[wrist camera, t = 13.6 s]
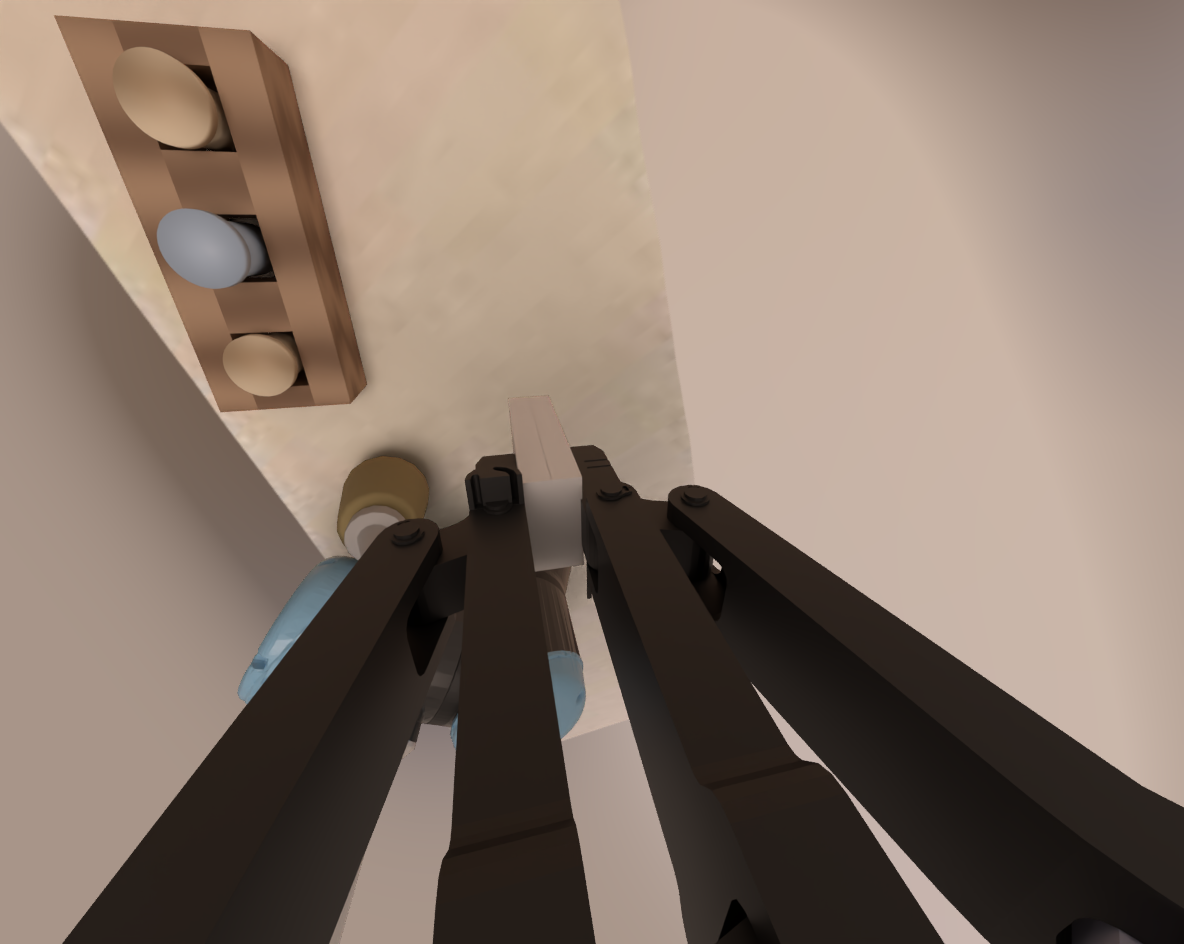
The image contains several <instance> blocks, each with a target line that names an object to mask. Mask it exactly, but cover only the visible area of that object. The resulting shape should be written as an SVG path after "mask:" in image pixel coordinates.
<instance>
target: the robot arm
mask: <svg viewBox="0 0 1184 944" xmlns="http://www.w3.org/2000/svg"><path fill="white" fill-rule="evenodd" d="M508 402H509V412H510V422H511V432H512V442H513V453H514V454H505V455H495V456H484V457H482V458H481V459H480V460H479V462H478V463H477V464H476V469H475V470H473V471H472V472H471V473H469V474H468V475H467V476H466V478H465V485H466V491H467V498H468V504H469V510H470V511H469V516H468V517H467V518H466V519H464V520H463V521H461V522H459V523H457V524H455V525H452V526H450V527H446V528H443V529H440V530H439V528H438V526H437V524H436V523H434V522H433V521H431V520H428V519H421V518H417V519H406V520H404V521H399V522H396V523H394V524H392V525H390V526H389V527H387V528H385V529H384V530H383V531H382V532H381V533H380V534H378V536H377V537H376V538H375V539H374V541H373V542H372V543H371V545H370V546H369V547H368V549H367V550H366V551H365V552H364V554H363V555H362V556H361V558H360V559H359V560H357V559H355V558H351V557H347V556H333V557H330V558H327V559H325V560H323V561H322V562H320V563H319V564H317V565H316V566H315V567H314V568H313V569H312V570H311V571H310V573H309V574H308V575H307V576H306V577H305V579H304V580H303V581H302V582H301V584H300V585H299V587H298V588H297V589H296V591H295V592H294V593H293V595H292V596H291V598H290V599H289V601H288V602H287V604H286V605H285V607H284V608H283V610H282V611H281V613H280V614H279V616H278V617H277V619H276V620H275V622H274V623H273V625H272V627H271V628H270V630H269V632H268V633H267V635H266V636H265V638H264V640H263V642H262V643H261V645H260V647H259V649H258V653H257V655H255V657H254V659H253V661H252V663H251V665H250V666H249V667H248V669H247V670H246V672H245V674H244V676H243V678H242V680H241V683H240V685H239V688H238V696H239V698H240V699H241V700H243V701H245V703H246V704H247V705H246V707H245V708H244V709H243V710H242V712H241V713H240V714H239V716H238V717H237V718H236V719H235V721H234V722H233V723H232V725H231V726H230V727H229V728H228V730H227V731H226V732H225V734H224V735H223V737H222V738H221V739H220V740H219V741H218V743H217V744H216V745H215V747H214V748H213V749H212V750H211V752H210V753H209V754H208V756H207V757H206V758H205V760H204V761H203V762H202V763H201V765H200V766H199V767H198V769H197V770H196V771H195V773H194V774H193V775H192V776H191V778H190V779H189V780H188V782H187V783H186V784H185V785H184V787H183V788H182V789H181V791H180V792H179V793H178V795H177V796H176V797H175V798H174V800H173V801H172V802H171V804H170V805H169V806H168V807H167V809H166V810H165V811H164V813H163V814H162V815H161V817H160V818H159V819H158V820H157V822H156V823H155V824H154V826H153V827H152V828H151V830H150V831H149V832H148V833H147V835H146V836H145V837H144V838H143V840H142V841H141V842H140V844H139V845H138V846H137V848H136V849H135V850H134V851H133V853H132V854H131V855H130V857H129V858H128V860H127V861H126V862H125V863H124V864H123V866H122V867H121V868H120V870H119V871H118V872H117V873H116V875H115V876H114V877H113V879H112V880H111V881H110V882H109V884H108V885H107V886H106V888H105V889H104V890H103V892H102V893H101V894H100V895H99V897H98V898H97V899H96V901H95V902H94V903H93V904H92V906H91V907H90V908H89V910H88V911H87V912H86V914H85V915H84V916H83V917H82V919H81V920H80V921H79V923H78V924H77V925H76V926H75V928H74V929H73V930H72V932H71V933H70V934H69V936H68V937H67V938H66V939H65V941H64V942H63V944H340V940H341V937H342V933H343V929H344V925H345V922H346V919H347V915H348V911H349V908H350V904H351V900H352V897H353V893H354V890H355V886H356V883H357V879H358V875H359V872H360V868H361V865H362V861H363V857H364V854H365V851H366V849H367V846H368V843H369V840H370V838H371V836H372V833H373V831H374V828H375V826H376V823H377V820H378V818H379V815H380V812H381V810H382V808H383V805H384V803H385V800H386V798H387V795H388V792H389V790H390V787H391V785H392V782H393V780H394V777H395V774H396V772H397V769H398V767H399V764H400V762H401V760H402V759H403V758H404V757H405V756H407V755H408V754H409V753H410V752H411V751H412V750H414V749H415V746H416V742H417V737H418V734H419V730H420V726H421V724H422V723H424V724H432V725H440V726H446V727H451V733H450V734H451V739H452V742H453V744H454V747H455V749H456V760H455V776H454V794H453V813H452V829H451V840H450V845H449V850H448V852H447V853H446V855H445V856H444V858H443V860H442V864H441V869H440V873H439V879H438V888H437V897H436V908H435V921H434V935H433V944H596V943H595V936H594V930H593V924H592V918H591V912H590V905H589V899H588V892H587V886H586V880H585V873H584V867H583V861H582V855H581V849H580V843H579V838H578V833H577V828H576V824H575V821H574V818H573V814H572V808H571V802H570V796H569V789H568V783H567V776H566V770H565V763H564V757H563V750H562V744H561V739H562V738H563V737H564V736H565V735H566V734H567V733H568V732H569V731H570V730H571V729H572V728H573V727H574V725H575V724H576V722H577V721H578V719H579V718H580V716H581V714H582V711H583V708H584V705H585V699H586V691H585V684H584V677H583V662H582V660H581V658H580V654H579V650H578V646H577V642H576V638H575V634H574V630H573V626H572V622H571V618H570V613H569V609H568V605H567V601H566V597H565V594H566V589H567V584H568V580H569V575H570V570H571V566H577V565H584V558H583V551H584V554H585V557H586V560H587V599H590V598H591V595H593V599H594V602H595V606H596V609H597V612H598V616H599V619H600V622H601V626H602V629H603V632H604V636H605V639H606V643H607V646H608V649H609V653H610V656H611V659H612V663H613V666H614V669H615V673H616V676H617V680H618V683H619V686H620V690H621V693H622V696H623V700H624V703H625V706H626V710H627V713H628V717H629V720H630V723H631V726H632V730H633V733H634V737H635V740H636V743H637V746H638V750H639V753H640V757H641V760H642V764H643V767H644V770H645V774H646V777H647V780H648V784H649V787H650V790H651V793H652V797H653V800H654V804H655V807H656V811H657V814H658V817H659V821H660V824H661V827H662V831H663V834H664V838H665V841H666V844H667V848H668V851H669V854H670V858H671V861H672V864H673V868H674V871H675V875H676V879H677V884H678V889H679V895H680V902H681V910H682V918H683V923H684V928H685V932H686V938H687V941H688V944H944V943H943V941H942V939H941V938H940V936H939V935H938V933H937V932H936V930H935V929H934V927H933V925H932V924H931V922H930V921H929V919H928V918H927V916H926V915H925V913H924V911H923V910H922V908H921V907H920V905H919V904H918V902H917V901H916V899H915V898H914V896H913V895H912V893H911V892H910V890H909V888H908V887H907V886H906V884H905V882H904V881H903V879H902V878H901V876H900V875H899V873H898V872H897V870H896V869H895V867H894V865H893V864H892V862H891V861H890V859H889V858H888V856H887V855H886V853H885V852H884V850H883V849H882V847H881V846H880V844H879V842H878V841H877V839H876V838H875V836H874V835H873V833H872V832H871V830H870V829H869V827H868V826H867V824H866V822H865V821H864V819H863V818H862V817H861V815H860V813H859V812H858V811H857V809H856V807H855V806H854V804H853V803H852V801H851V799H850V798H849V796H848V795H847V793H846V792H845V791H844V789H843V788H842V787H841V785H840V784H839V783H838V782H837V780H836V779H835V778H834V776H833V775H832V774H831V773H830V772H829V771H827V770H826V769H825V768H824V767H822V766H821V765H820V764H819V763H815V762H809V761H804V760H801V759H800V758H799V757H798V756H796V755H795V754H794V752H793V751H792V749H791V748H790V747H789V745H788V744H787V742H786V741H785V739H784V737H783V735H782V734H781V732H780V730H779V729H778V727H777V726H776V724H775V722H774V720H773V719H772V717H771V715H770V714H769V712H768V710H767V709H766V707H765V706H764V704H763V702H762V700H761V699H760V697H759V695H758V694H757V692H756V690H755V689H754V687H753V685H754V686H755V687H756V688H757V689H758V691H759V692H760V693H761V694H762V695H763V696H764V697H765V698H766V699H767V700H768V702H769V703H770V704H771V705H772V706H773V707H774V708H775V709H776V710H777V712H778V713H779V714H780V715H781V716H782V717H783V718H784V719H785V720H786V721H787V723H788V724H789V725H790V726H791V727H792V728H793V729H794V730H795V731H796V733H797V734H798V735H799V736H800V737H801V738H802V739H803V740H804V741H805V743H806V744H807V745H808V746H809V747H810V748H811V749H812V750H813V751H814V752H815V754H816V755H817V756H818V757H819V758H820V759H821V760H822V761H823V762H824V764H825V765H826V766H827V767H828V768H829V769H830V770H831V771H832V772H833V774H834V775H835V776H836V777H837V778H838V779H839V780H840V781H841V782H842V783H843V785H844V786H845V787H846V788H847V789H848V790H849V791H850V792H851V794H852V795H853V796H854V797H855V798H856V799H857V800H858V801H859V802H860V804H861V805H862V806H863V807H864V808H865V809H866V810H867V811H868V812H869V813H870V815H871V816H872V817H873V818H874V819H875V820H876V821H877V822H878V823H879V824H880V826H881V827H882V828H883V829H884V830H885V831H886V832H887V833H888V835H889V836H890V837H891V838H892V839H893V840H894V841H895V842H896V843H897V844H898V846H899V847H900V848H901V849H902V850H903V851H904V852H905V853H906V854H907V856H908V857H909V858H910V859H911V860H912V861H913V862H914V863H915V864H916V866H917V867H918V868H919V869H920V870H921V871H922V872H923V873H924V874H925V875H926V877H927V878H928V879H929V880H930V881H931V882H932V883H933V884H934V885H935V887H936V888H937V889H938V890H939V891H940V892H941V893H942V894H943V895H944V896H945V897H946V898H947V899H948V901H949V902H950V903H951V904H952V905H953V906H954V907H955V908H956V909H957V910H958V911H959V912H960V913H961V914H962V915H963V916H964V917H965V918H966V919H967V920H968V921H969V922H970V924H971V925H972V926H973V927H974V928H975V929H976V930H977V931H978V932H979V933H980V934H981V935H982V936H983V937H984V938H985V939H986V940H987V941H988V942H989V943H990V944H1184V807H1182V806H1180V805H1178V804H1176V803H1174V802H1172V801H1170V800H1168V799H1166V798H1164V797H1162V796H1160V795H1158V794H1157V793H1155V792H1152V791H1151V790H1148V789H1147V788H1145V787H1143V786H1141V785H1140V784H1138V783H1137V782H1135V781H1134V780H1132V779H1131V778H1130V777H1128V776H1127V775H1125V774H1124V773H1122V772H1121V771H1119V770H1118V769H1116V768H1115V767H1114V766H1112V765H1110V764H1109V763H1108V762H1106V761H1105V760H1103V759H1102V758H1101V757H1099V756H1098V755H1096V754H1095V753H1093V752H1092V751H1090V750H1089V749H1087V748H1086V747H1085V746H1083V745H1082V744H1080V743H1079V742H1077V741H1076V740H1074V739H1073V738H1072V737H1070V736H1069V735H1067V734H1066V733H1064V732H1063V731H1061V730H1060V729H1058V728H1057V727H1056V726H1054V725H1053V724H1051V723H1050V722H1048V721H1047V720H1045V719H1044V718H1042V717H1041V716H1040V715H1038V714H1037V713H1035V712H1034V711H1032V710H1031V709H1029V708H1028V707H1027V706H1025V705H1024V704H1022V703H1021V702H1019V701H1018V700H1016V699H1015V698H1014V697H1012V696H1011V695H1009V694H1008V693H1006V692H1005V691H1003V690H1002V689H1000V688H999V687H998V686H996V685H995V684H993V683H992V682H990V681H989V680H987V679H986V678H985V677H983V676H982V675H980V674H978V673H977V672H976V671H974V670H973V669H971V668H970V667H969V666H967V665H966V664H964V663H963V662H961V661H960V660H958V659H957V658H955V657H954V656H953V655H951V654H950V653H948V652H947V651H945V650H944V649H942V648H941V647H940V646H938V645H937V644H935V643H934V642H932V641H931V640H929V639H928V638H927V637H925V636H924V635H922V634H921V633H919V632H918V631H916V630H915V629H913V628H912V627H911V626H909V625H908V624H906V623H905V622H903V621H902V620H900V619H899V618H898V617H896V616H895V615H893V614H892V613H890V612H889V611H887V610H886V609H884V608H883V607H881V606H880V605H879V604H877V603H876V602H874V601H873V600H871V599H870V598H868V597H867V596H866V595H864V594H863V593H861V592H859V591H858V590H857V589H855V588H854V587H852V586H851V585H850V584H848V583H847V582H845V581H844V580H842V579H841V578H839V577H838V576H836V575H835V574H833V573H832V572H831V571H829V570H828V569H826V568H825V567H823V566H822V565H821V564H819V563H818V562H816V561H815V560H813V559H812V558H810V557H809V556H808V555H806V554H805V553H803V552H802V551H800V550H799V549H797V548H796V547H795V546H793V545H792V544H790V543H789V542H787V541H786V540H784V539H783V538H781V537H780V536H779V535H777V534H776V533H774V532H773V531H771V530H770V529H768V528H767V527H766V526H764V525H763V524H761V523H759V522H758V521H757V520H755V519H754V518H752V517H751V516H750V515H748V514H747V513H745V512H744V511H742V510H741V509H739V508H738V507H736V506H735V505H734V504H732V503H731V502H729V501H728V500H726V499H725V498H723V497H722V496H720V495H719V494H718V493H716V492H714V491H712V490H710V489H708V488H704V487H701V486H698V485H694V486H693V485H686V486H679V487H677V488H675V489H672V490H671V492H670V493H669V494H668V502H667V501H652V500H645V499H641V498H640V496H639V495H638V493H637V491H636V490H635V489H634V488H633V487H632V486H630V485H628V484H626V483H623V482H620V480H619V478H618V477H617V475H616V473H615V471H614V469H613V468H612V466H611V464H610V462H609V461H608V460H607V457H606V455H605V453H604V452H603V451H602V450H601V449H599V448H597V447H596V446H594V445H588V446H578V447H570V446H569V444H568V441H567V439H566V437H565V434H564V432H563V429H562V427H561V424H560V422H559V419H558V417H557V415H556V412H555V410H554V407H553V405H552V402H551V400H550V397H549V395H546V396H532V397H518V398H508ZM713 558H714V559H715V560H716V561H717V562H718V563H719V564H720V565H721V567H722V569H721V571H720V570H718V569H717V568H716V567H715V566H714V565H712V564H713ZM751 683H752V684H753V685H752V684H751Z"/></svg>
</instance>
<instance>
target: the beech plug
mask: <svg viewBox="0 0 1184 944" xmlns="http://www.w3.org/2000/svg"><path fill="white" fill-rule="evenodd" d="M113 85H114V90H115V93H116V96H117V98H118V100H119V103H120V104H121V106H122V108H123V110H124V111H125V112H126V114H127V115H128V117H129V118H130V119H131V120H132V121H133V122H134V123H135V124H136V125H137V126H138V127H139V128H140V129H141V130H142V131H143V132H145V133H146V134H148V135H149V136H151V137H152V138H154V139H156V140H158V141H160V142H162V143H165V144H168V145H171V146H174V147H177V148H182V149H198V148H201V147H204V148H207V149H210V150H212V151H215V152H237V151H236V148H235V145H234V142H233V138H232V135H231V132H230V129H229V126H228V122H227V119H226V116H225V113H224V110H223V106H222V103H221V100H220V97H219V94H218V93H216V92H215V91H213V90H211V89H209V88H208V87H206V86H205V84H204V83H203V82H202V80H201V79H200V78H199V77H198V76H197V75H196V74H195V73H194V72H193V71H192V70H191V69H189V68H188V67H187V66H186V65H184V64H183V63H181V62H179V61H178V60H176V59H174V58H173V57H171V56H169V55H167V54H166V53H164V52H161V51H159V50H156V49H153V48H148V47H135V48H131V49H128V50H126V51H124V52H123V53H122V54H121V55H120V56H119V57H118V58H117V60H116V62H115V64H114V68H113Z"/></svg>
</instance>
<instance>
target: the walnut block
mask: <svg viewBox="0 0 1184 944" xmlns="http://www.w3.org/2000/svg"><path fill="white" fill-rule="evenodd" d="M54 16H55V19H56V21H57V24H58V26H59V28H60V31H61V33H62V36H63V38H64V40H65V43H66V45H67V47H68V50H69V52H70V55H71V57H72V59H73V62H74V64H75V67H76V69H77V71H78V74H79V76H80V78H81V81H82V83H83V86H84V88H85V90H86V93H87V95H88V97H89V100H90V102H91V105H92V107H93V109H94V112H95V114H96V117H97V119H98V121H99V124H100V126H101V128H102V131H103V133H104V136H105V138H106V140H107V143H108V145H109V148H110V150H111V152H112V155H113V157H114V159H115V162H116V164H117V167H118V169H119V171H120V174H121V176H122V178H123V181H124V183H125V186H126V188H127V190H128V193H129V195H130V198H131V200H132V202H133V205H134V207H135V209H136V212H137V214H138V217H139V219H140V221H141V224H142V226H143V229H144V231H145V233H146V236H147V238H148V240H149V243H150V245H151V248H152V250H153V252H154V255H155V257H156V259H157V262H158V264H159V267H160V269H161V271H162V274H163V276H164V279H165V281H166V283H167V286H168V288H169V290H170V293H171V295H172V298H173V300H174V302H175V305H176V307H177V310H178V312H179V314H180V317H181V319H182V321H183V324H184V326H185V329H186V331H187V333H188V336H189V338H190V341H191V343H192V345H193V348H194V350H195V352H196V355H197V357H198V360H199V362H200V364H201V367H202V369H203V371H204V374H205V376H206V379H207V381H208V383H209V386H210V388H211V391H212V393H213V395H214V398H215V400H216V402H217V405H218V407H219V410H220V412H231V411H246V410H261V409H277V408H292V407H307V406H322V405H337V404H351V403H352V402H353V400H354V399H355V398H356V397H357V396H358V394H359V393H360V392H361V391H362V390H363V389H364V387H365V386H366V385H367V382H366V378H365V374H364V370H363V366H362V362H361V358H360V354H359V350H358V346H357V342H356V338H355V334H354V330H353V326H352V322H351V318H350V314H349V310H348V306H347V302H346V298H345V294H344V290H343V286H342V282H341V277H340V273H339V269H338V265H337V261H336V257H335V253H334V249H333V245H332V241H331V237H330V233H329V229H328V225H327V221H326V217H325V213H324V209H323V205H322V201H321V197H320V193H319V189H318V185H317V181H316V177H315V173H314V169H313V164H312V160H311V156H310V152H309V148H308V144H307V140H306V136H305V132H304V128H303V124H302V120H301V116H300V112H299V108H298V104H297V100H296V96H295V92H294V88H293V84H292V80H291V76H290V72H289V68H288V65H287V64H286V63H285V62H284V61H283V60H282V59H281V58H279V57H278V56H277V55H276V54H275V53H274V52H273V51H272V50H271V49H269V48H268V47H267V46H266V45H265V44H264V43H263V42H262V41H261V40H260V39H258V38H257V37H256V36H255V35H254V34H253V33H252V32H251V31H248V30H235V29H223V28H210V27H197V26H184V25H171V24H159V23H146V22H133V21H120V20H107V19H95V18H82V17H69V16H56V15H54ZM135 47H148V48H153V49H156V50H159V51H161V52H164V53H166V54H167V55H169V56H171V57H173V58H174V59H176V60H178V61H179V62H181V63H183V64H184V65H186V66H187V67H188V68H189V69H191V70H192V71H193V72H194V73H195V74H196V75H197V76H198V77H199V78H200V79H201V80H202V82H203V83H204V84H205V86H206V87H208V88H209V89H211V90H213V91H215V92H218V93H219V97H220V100H221V103H222V106H223V110H224V113H225V116H226V119H227V122H228V126H229V129H230V132H231V135H232V138H233V142H234V145H235V148H236V151H237V152H213V151H206V149H205V148H204V147H201V148H198V149H182V148H177V147H174V146H171V145H168V144H165V143H162V142H160V141H158V140H156V139H154V138H152V137H151V136H149V135H148V134H146V133H145V132H143V131H142V130H141V129H140V128H139V127H138V126H137V125H136V124H135V123H134V122H133V121H132V120H131V119H130V118H129V117H128V115H127V114H126V112H125V111H124V110H123V108H122V106H121V104H120V103H119V100H118V98H117V96H116V93H115V90H114V85H113V68H114V64H115V62H116V60H117V58H118V57H119V56H120V55H121V54H122V53H123V52H124V51H126V50H128V49H131V48H135ZM177 209H197V210H203V211H208V212H211V213H214V214H216V215H218V216H220V217H222V218H223V219H225V220H226V221H230V220H229V218H253V219H258V222H259V225H260V229H261V232H262V235H263V238H264V241H265V245H266V248H267V251H268V254H269V258H270V261H271V264H272V267H273V270H274V274H275V277H262V278H249V276H247V277H246V278H245V279H244V280H243V281H242V282H241V283H239V284H237V285H235V286H231V287H226V288H220V289H210V288H205V287H201V286H198V285H195V284H193V283H191V282H189V281H187V280H186V279H184V278H183V277H181V276H180V275H179V274H177V273H176V272H175V271H174V270H173V269H172V268H171V267H170V266H169V264H168V263H167V262H166V260H165V259H164V257H163V255H162V253H161V251H160V249H159V246H158V241H157V229H158V225H159V223H160V221H161V220H162V218H163V217H164V216H165V215H166V214H168V213H169V212H171V211H174V210H177ZM287 331H293V335H294V338H295V341H296V344H297V348H298V351H299V354H300V357H301V360H302V364H303V367H304V369H303V370H302V371H300V372H299V373H298V376H297V379H296V381H295V383H294V384H293V385H292V386H291V387H290V388H288V389H287V390H286V391H284V392H283V393H281V394H278V395H275V396H259V395H255V394H251V393H249V392H247V391H245V390H243V389H242V388H240V387H239V386H237V385H236V384H235V383H234V382H233V381H232V380H231V379H230V377H229V376H228V374H227V373H226V371H225V368H224V365H223V353H224V350H225V348H226V346H227V345H228V344H229V343H230V342H231V341H233V340H235V339H237V338H240V337H242V336H245V335H249V334H262V335H267V334H268V333H267V332H287Z"/></svg>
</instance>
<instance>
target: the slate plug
mask: <svg viewBox="0 0 1184 944" xmlns="http://www.w3.org/2000/svg"><path fill="white" fill-rule="evenodd" d="M157 241H158V246H159V249H160V251H161V253H162V255H163V257H164V259H165V260H166V262H167V263H168V264H169V266H170V267H171V268H172V269H173V270H174V271H175V272H176V273H177V274H179V275H180V276H181V277H183V278H184V279H186V280H187V281H189V282H191V283H193V284H195V285H198V286H201V287H205V288H210V289H220V288H226V287H231V286H235V285H237V284H239V283H241V282H242V281H243V280H244V279H245V278H246V277H247V276H253V275H260V274H266V273H269V272H271V271H272V270H273V267H272V264H271V261H270V258H269V254H268V251H267V248H266V245H265V241H264V238H263V235H262V232H261V229H260V227H258V226H256V225H254V224H250V223H243V222H232V221H226V220H225V219H223V218H222V217H220V216H218V215H216V214H214V213H211V212H208V211H203V210H197V209H177V210H174V211H171V212H169V213H168V214H166V215H165V216H164V217H163V218H162V220H161V221H160V223H159V225H158V229H157Z"/></svg>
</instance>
